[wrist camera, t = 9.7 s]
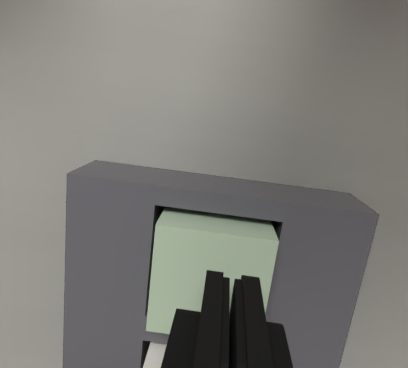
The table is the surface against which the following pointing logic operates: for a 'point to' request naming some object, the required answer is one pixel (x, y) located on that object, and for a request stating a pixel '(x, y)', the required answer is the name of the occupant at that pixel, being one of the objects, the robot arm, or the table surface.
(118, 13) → the table surface
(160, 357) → the cream key
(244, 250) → the sage key
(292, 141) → the table surface
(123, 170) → the keypad
